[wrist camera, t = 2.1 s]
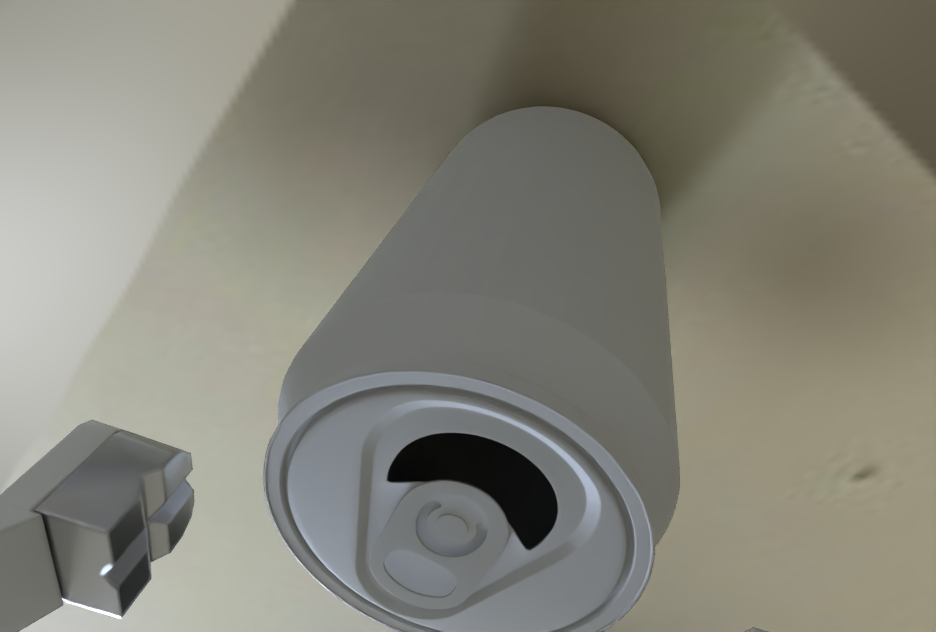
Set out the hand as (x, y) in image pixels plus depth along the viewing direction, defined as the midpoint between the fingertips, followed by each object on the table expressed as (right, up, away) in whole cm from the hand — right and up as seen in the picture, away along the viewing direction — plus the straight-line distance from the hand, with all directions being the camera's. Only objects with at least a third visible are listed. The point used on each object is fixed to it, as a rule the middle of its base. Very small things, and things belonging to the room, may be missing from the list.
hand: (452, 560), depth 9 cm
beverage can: (+3, +7, +10) cm, 12 cm away
